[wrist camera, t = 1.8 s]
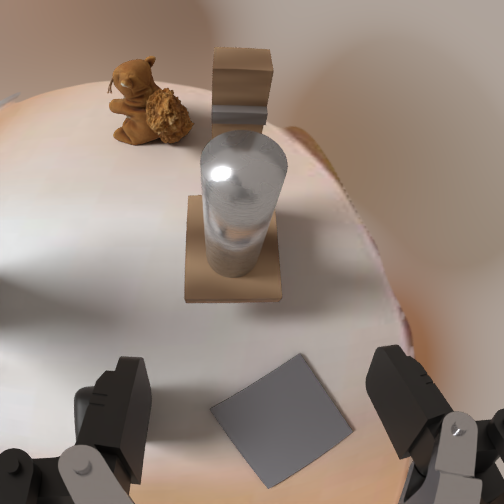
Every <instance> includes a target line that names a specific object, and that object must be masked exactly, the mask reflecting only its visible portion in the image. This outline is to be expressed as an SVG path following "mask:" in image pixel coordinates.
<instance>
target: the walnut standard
mask: <svg viewBox="0 0 504 504" xmlns="http://www.w3.org/2000/svg"><path fill="white" fill-rule="evenodd" d="M213 60H214V61H213V78H212V79H213V80H212V139H213V138H215V137H216V136H218V135H220V134H222V133H225V132H229V131H234V130H249V131H254V132H258V133H261V134H262V129H263V125H266V119H267V114H268V113H267V102H268V98H269V92H270V87H271V82H272V77H273V65H272V60H271V54H270V50H267V49H254V48H253V49H252V48H229V47H215V48H214V59H213ZM184 299H185V302H186V303H247V302H279V301H280V300H281V299H282V289H281V276H280V263H279V250H278V238H277V226H276V215H275V209H274V212H273V215H272V218H271V221H270V224H269V227H268V230H267V233H266V236H265V239H264V242H263V245H262V248H261V251H260V254H259V257H258V260H257V263H256V265H255V266H254V268H253V269H252V270H251V271H250V272H249V273H247V274H246V275H244V276H241V277H237V278H228V277H224V276H221V275H219V274H218V273H216V272H215V271H214V270H213V269H212V268H211V267H210V265H209V263H208V261H207V257H206V245H205V231H204V217H203V201H202V195H198V196H188V212H187V231H186V256H185V296H184Z"/></svg>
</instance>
